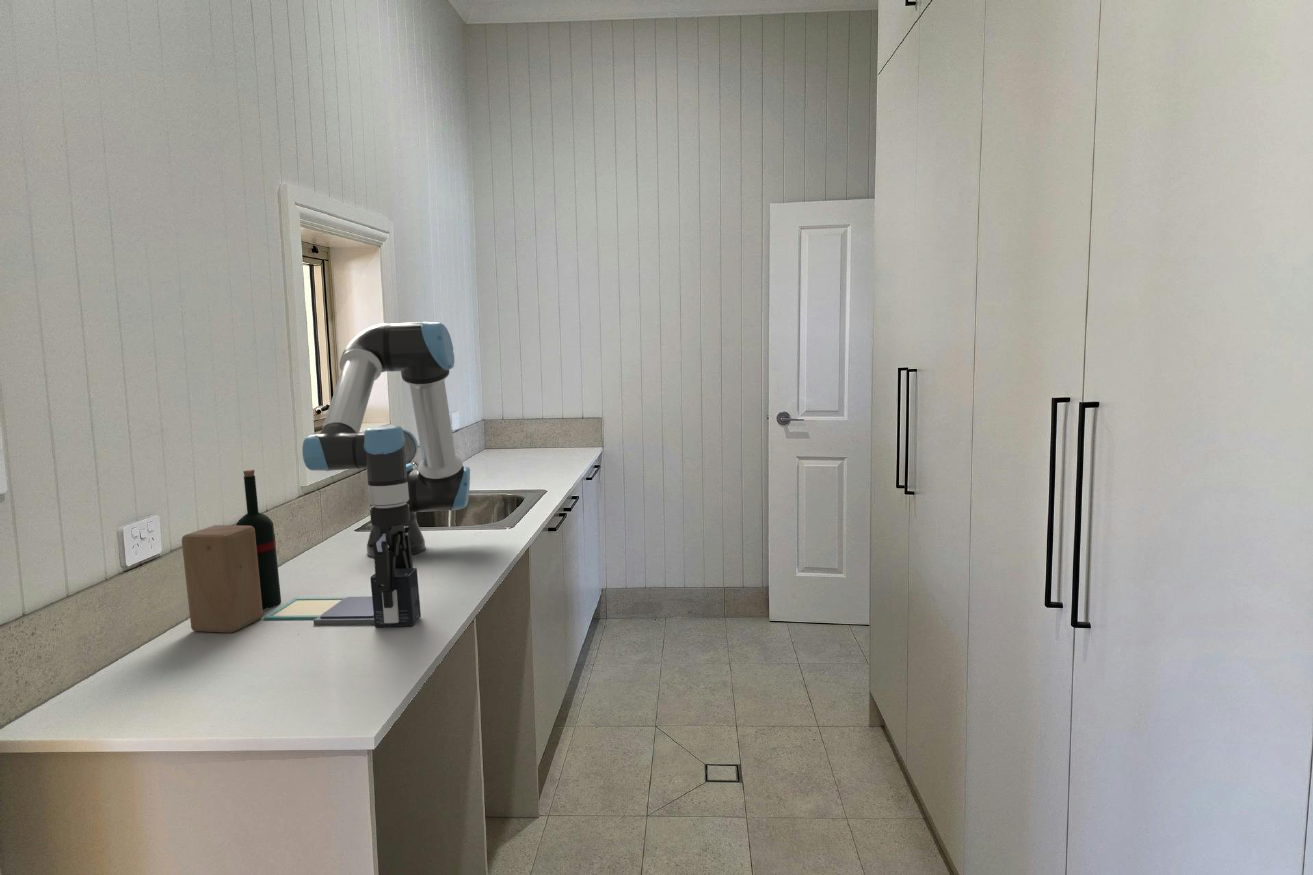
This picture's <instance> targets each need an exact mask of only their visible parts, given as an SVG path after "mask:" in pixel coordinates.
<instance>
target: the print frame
mask: <svg viewBox="0 0 1313 875" xmlns="http://www.w3.org/2000/svg"><path fill="white" fill-rule="evenodd" d="M344 598H345V597H344V596H343V597H339V596H338V597H333V596H332V597H293V598H292V599H291V600H289V601H288V602H286V603H284V604H283V605H282V606H280V607H278V608H277V609H275V610H273V611H272V612H270V613H269V614H267V615H265V616H264V617H263V620H265V621H268V620H269V621H271V620H272V621H273V620H275V621H276V620H277V621H279V620H280V621H281V620H314V619H316V618H317V617H319V616H320V615H321V614H323V613H324V612H326V611H327V610H328V609H330V608H331V607H333V606H334V605H336V604H337V603H338V602H340V601H341V600H343V599H344Z"/></svg>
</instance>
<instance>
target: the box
mask: <svg viewBox="0 0 1313 875" xmlns="http://www.w3.org/2000/svg"><path fill="white" fill-rule="evenodd" d="M418 579H419V577H418V568H417V567H413V568H401V569H395V582H394V590H397V602H398V614H399V622H398V623H384V612H383V600H382V592H377V591H376V578H375V573H374V574H372V575H371V576H370V589H371V596H372V601H373V611H374V622H375V624H374V628H384V627H385V628H386V627H387V628H389V627H409V626H410V627H411V626H412V627H413V626H414V625H415V624H416V623H417V622H418V621H419V619H420V618H421V615H422V612H421V604H420V602H421V601H420V600H421V599H420V593H419V580H418Z"/></svg>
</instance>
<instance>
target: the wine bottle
mask: <svg viewBox="0 0 1313 875" xmlns="http://www.w3.org/2000/svg"><path fill="white" fill-rule="evenodd" d="M243 481H244V482H243V483H244V484H243V485H244V492H245V503H246V514H244V515H242V517H240V518H239V519H238V521H237V522H236V524H235V525H242V526H252V527H254V529H255V537H256V547H257V558H258V568H259V578H260V588H261V599H262V609H263V611H264V610H268V609H273V608H275V607H277V606H279V605H281V603H282V593H281V585H280V575H279V574H280V573H279V566H278V556H277V555H278V554H277V547H276V545H277V543H276V534H275V527H274V522H273V521H272V519H271V518H270V517H269V516H268V515H266V514H264V513H262V512H259V505H258V504H259V503H258V493H257V483H256V481H257V480H256V475H255V469H247V470H243Z"/></svg>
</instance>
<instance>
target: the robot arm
mask: <svg viewBox="0 0 1313 875" xmlns="http://www.w3.org/2000/svg"><path fill="white" fill-rule="evenodd" d="M338 364H339V369H340V373H339V376H338V379H337V381H336V382H337V383H336V386H335V389H334V392H333V396H332V398H331V401H330V404H329V407H328V410H327V411H326V412H327V413H326V416H325V419H324V421H323V425H322V427H321V428H322V429H321V430H320V434H318V433H315V434H310V435H307V436H306V437H304V440H303V442H302V447H301V448H302V459H303V463H304V465H305V467H306V468H307V469H308V470H310V471H319V472H320V471H321V472H322V471H323V472H324V471H326V472H330V471H342V470H343V471H345V470H358V469H359V470H360V469H361V470H362V469H363V470H364V469H366V475H367V489H366V493H368V500H369V501H368V502H369V507H370V508H369V514H370V516H369V517H370V524H371V528H370V532H369V536H368V538H367V544H366V555H367V556H368V557H371V558H374V574H375V578H376V591H377V592H382V600H383V612H384V623H398V622H399V614H398V602H397V590H394V582H395V569H401V568H414V565H413V556H412V555H415V554H418V553H420V552H423V551H424V550H426V542H425V538H424V535H423V533H422V530H421V528H420V526H419V524H418V521H417V513H422V512H438V511H450V512H452V511H454V510H455V511H457V510H462V509H465V508H466V507H467V506H468V503H469V496H470V484H471V469H470V467H469V466H467V465H463V460H462V458H461V457H459V456H457V455H456V450H455V444H454V437H453V428H452V423H451V416H450V409H449V401H448V395H447V389H446V379H447V378H448V377H449V375H450V370H451V369H454V367H455V353H454V346H453V342H452V337H451V335H450V332H449V330H448V328H447V326H445V324H444V323H441V322H439V321H438V322H435V321H434V322H430V321H422V322H421V321H420V322H400V323H399V322H398V323H397V322H396V323H378V324H375V325H372V326H370V327H367V328H366V329H364V330H363V331H360V332H359V333H358V334H357V335H356V336H355V337H354V338H352V340H350V342H348V344H347V345H346V346H345V348H344V350H343V351H342V354H341V356H340V360H339V363H338ZM384 372H385V373H386V372H400V373H401V374H400V375H401V379H402V381H404V383H406V384H407V385H409V390H410V396H411V401H412V402H411V403H412V405H413V406H412V407H413V413H414V418H415V424H416V431H417V436H418V440H417V438H416V436H414V434H413V433H412V432H410V431H409V430H407V429H403V428H402V427H401V426H399V425H379V426H377V425H376V426H371V427H368V428H366V429H365V430H364V432H360V431H361V429H362V428H361V427H362V424H363V421H364V418H365V414H366V410H367V407H368V404H369V400H370V396H371V394H372V390H373V386H374V384H375V381H377V380H378V378H380V376H381V375H382V373H384ZM418 442H419V444H418ZM419 447H420V454H421V459H422V460H421V461H420V462H419V464H418V466H417V468H414V466H413V464H412V463H411V462H412V461H413V460H414V459H415V457H416V455H417V453H418V450H419V449H418V448H419Z"/></svg>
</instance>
